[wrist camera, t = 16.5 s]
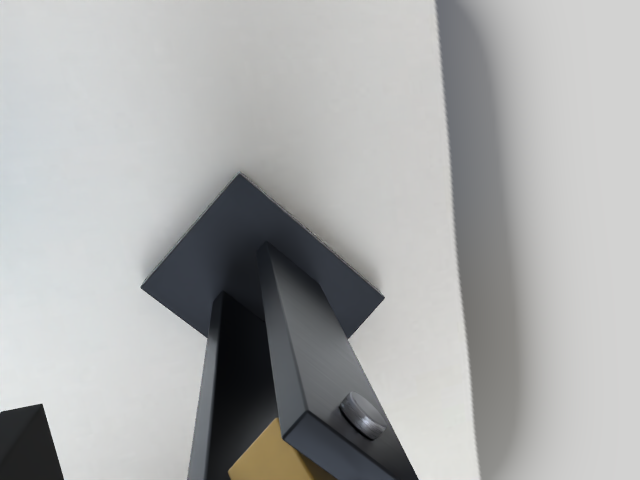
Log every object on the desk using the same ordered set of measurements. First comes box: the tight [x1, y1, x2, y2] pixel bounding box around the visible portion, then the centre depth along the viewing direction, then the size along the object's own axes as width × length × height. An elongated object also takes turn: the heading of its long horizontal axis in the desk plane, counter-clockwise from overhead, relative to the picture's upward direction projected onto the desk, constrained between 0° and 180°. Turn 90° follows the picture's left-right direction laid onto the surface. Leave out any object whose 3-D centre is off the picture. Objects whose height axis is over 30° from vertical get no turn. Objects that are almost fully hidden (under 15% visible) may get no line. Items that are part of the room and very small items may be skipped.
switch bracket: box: [141, 172, 419, 480], centre depth 25 cm, size 12×9×22 cm
